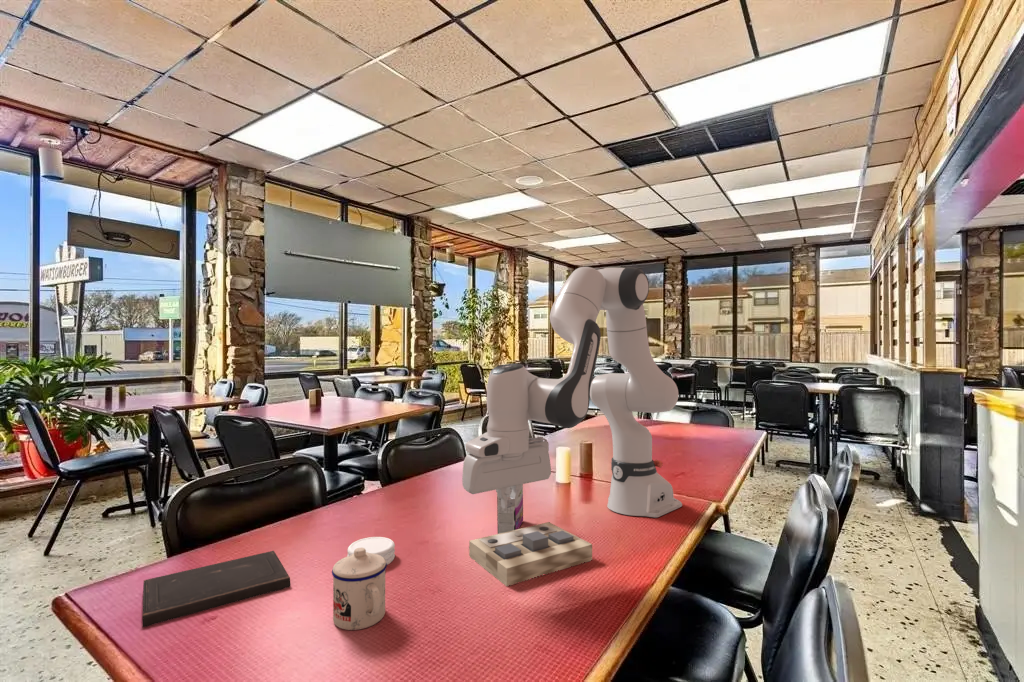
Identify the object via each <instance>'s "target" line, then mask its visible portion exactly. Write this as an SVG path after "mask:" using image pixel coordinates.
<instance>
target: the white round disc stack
mask: <svg viewBox="0 0 1024 682" xmlns="http://www.w3.org/2000/svg"><path fill="white" fill-rule="evenodd" d="M395 547H396V545H395V542H394V541H393V540H392V539H390V538H388V537H384V536H370V537H364V538H360V539H358V540H356V541H353V542H352V543H351V544H350V545H349V546H348V547H347V556H350V555H352V554H354V550H355V549H357V548H365V550H366V552H368V553H372V554H377V555H380V556H382V557H383V558H384V559H385V561H386V563H387V566H388V565H389V564H391V563H392V562H393V561H394V559H395V552H396V549H395ZM347 556H346V557H347Z"/></svg>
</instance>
